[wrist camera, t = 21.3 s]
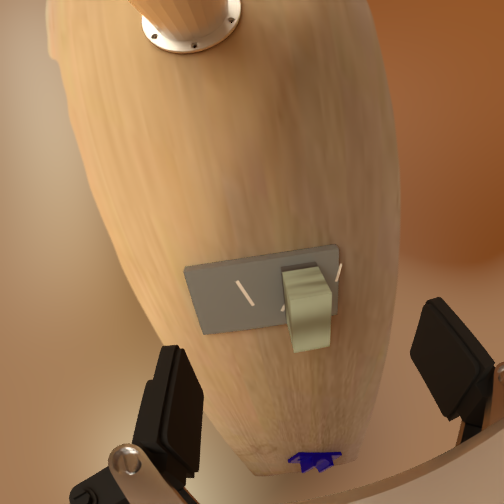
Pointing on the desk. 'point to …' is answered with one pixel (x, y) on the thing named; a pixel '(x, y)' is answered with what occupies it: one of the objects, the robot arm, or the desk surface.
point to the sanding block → (307, 306)
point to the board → (253, 288)
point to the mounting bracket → (315, 460)
